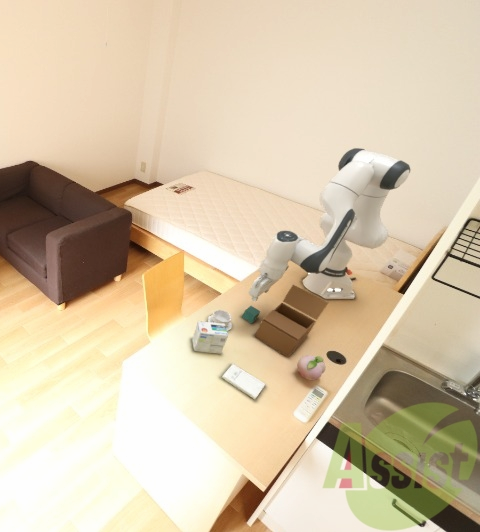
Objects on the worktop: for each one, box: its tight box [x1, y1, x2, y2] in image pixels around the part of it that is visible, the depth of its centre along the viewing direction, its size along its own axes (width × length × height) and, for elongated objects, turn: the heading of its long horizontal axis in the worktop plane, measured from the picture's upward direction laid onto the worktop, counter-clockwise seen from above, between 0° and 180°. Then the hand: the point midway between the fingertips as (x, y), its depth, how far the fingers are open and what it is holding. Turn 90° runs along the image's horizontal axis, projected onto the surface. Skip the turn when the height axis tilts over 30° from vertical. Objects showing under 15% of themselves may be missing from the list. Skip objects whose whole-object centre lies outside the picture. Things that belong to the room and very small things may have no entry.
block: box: [242, 305, 261, 324], centre depth 154 cm, size 5×5×5 cm
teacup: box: [207, 309, 233, 332], centre depth 151 cm, size 10×10×5 cm
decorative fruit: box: [296, 354, 326, 381], centre depth 129 cm, size 9×8×10 cm
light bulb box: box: [191, 320, 229, 355], centre depth 138 cm, size 11×7×11 cm, turn 84°
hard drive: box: [221, 363, 266, 400], centre depth 128 cm, size 2×8×12 cm
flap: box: [282, 284, 329, 321], centre depth 144 cm, size 8×14×1 cm
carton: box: [254, 302, 317, 358], centre depth 144 cm, size 17×14×10 cm
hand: (259, 296), depth 148 cm, fingers open, 8 cm apart
